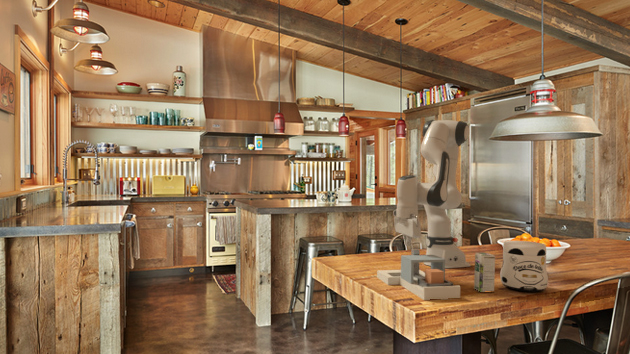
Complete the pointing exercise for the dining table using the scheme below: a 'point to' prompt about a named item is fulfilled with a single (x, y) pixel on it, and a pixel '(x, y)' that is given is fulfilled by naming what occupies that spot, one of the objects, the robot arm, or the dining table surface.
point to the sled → (421, 278)
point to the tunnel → (409, 261)
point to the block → (434, 276)
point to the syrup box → (484, 272)
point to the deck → (418, 286)
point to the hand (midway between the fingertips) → (407, 245)
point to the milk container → (524, 266)
